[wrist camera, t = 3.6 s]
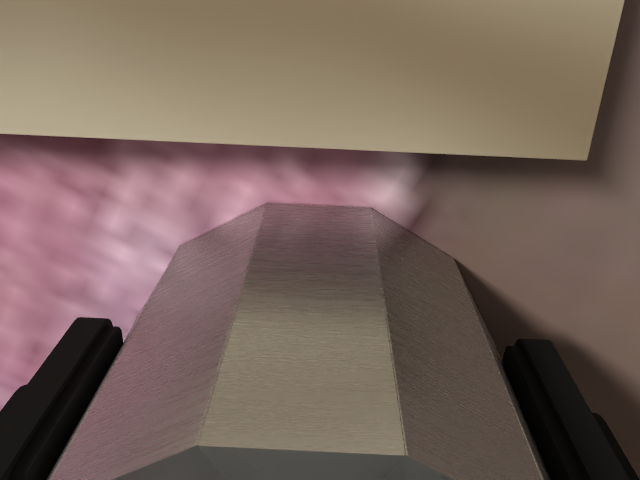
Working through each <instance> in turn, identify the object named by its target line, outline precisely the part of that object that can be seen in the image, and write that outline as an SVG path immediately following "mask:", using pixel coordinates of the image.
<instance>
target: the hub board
mask: <svg viewBox="0 0 640 480" xmlns="http://www.w3.org/2000/svg"><path fill="white" fill-rule="evenodd" d="M624 1H625V0H0V134H20V135H41V136H63V137H85V138H107V139H129V140H151V141H172V142H194V143H216V144H238V145H260V146H282V147H303V148H325V149H347V150H369V151H391V152H413V153H434V154H456V155H478V156H500V157H522V158H544V159H565V160H587V158H588V153H589V149H590V145H591V141H592V136H593V132H594V128H595V124H596V119H597V115H598V111H599V107H600V102H601V98H602V94H603V90H604V85H605V81H606V77H607V73H608V68H609V64H610V60H611V56H612V52H613V47H614V43H615V39H616V35H617V30H618V26H619V22H620V18H621V13H622V9H623V5H624Z"/></svg>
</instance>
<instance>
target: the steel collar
mask: <svg viewBox="0 0 640 480" xmlns="http://www.w3.org/2000/svg"><path fill="white" fill-rule="evenodd" d="M47 480H551V479H550V476H549V474H548V471H547V469H546V467H545V464H544V462H543V459H542V457H541V455H540V452H539V450H538V448H537V445H536V443H535V440H534V438H533V436H532V433H531V431H530V428H529V426H528V424H527V421H526V419H525V417H524V414H523V412H522V409H521V407H520V405H519V402H518V400H517V397H516V395H515V393H514V390H513V388H512V386H511V383H510V381H509V378H508V376H507V374H506V371H505V369H504V366H503V364H502V361H501V358H500V356H499V353H498V351H497V349H496V346H495V344H494V342H493V339H492V337H491V334H490V333H489V331H488V329H487V327H486V325H485V323H484V320H483V318H482V316H481V314H480V312H479V310H478V308H477V306H476V304H475V302H474V300H473V298H472V296H471V293H470V291H469V289H468V287H467V285H466V283H465V281H464V279H463V277H462V275H461V273H460V271H459V269H458V266H457V264H456V262H455V260H454V258H452V257H451V256H449V255H447V254H446V253H444V252H442V251H441V250H439V249H437V248H436V247H434V246H432V245H431V244H429V243H428V242H426V241H424V240H423V239H421V238H419V237H418V236H416V235H414V234H413V233H411V232H410V231H408V230H406V229H405V228H403V227H401V226H400V225H398V224H396V223H395V222H393V221H391V220H390V219H388V218H387V217H385V216H383V215H382V214H380V213H378V212H377V211H375V210H373V209H372V208H365V207H344V206H322V205H300V204H278V203H266V204H264V205H262V206H260V207H258V208H256V209H254V210H252V211H250V212H248V213H245V214H243V215H241V216H239V217H237V218H235V219H233V220H231V221H229V222H227V223H225V224H223V225H221V226H219V227H217V228H215V229H213V230H211V231H209V232H207V233H205V234H203V235H201V236H199V237H197V238H195V239H193V240H191V241H189V242H187V243H185V244H183V245H180V246H179V248H178V250H177V252H176V253H175V255H174V257H173V259H172V260H171V262H170V264H169V265H168V267H167V269H166V271H165V272H164V274H163V276H162V277H161V279H160V281H159V282H158V284H157V286H156V287H155V289H154V291H153V293H152V294H151V296H150V298H149V299H148V301H147V303H146V304H145V306H144V308H143V309H142V311H141V313H140V315H139V316H138V317H137V319H136V321H135V323H134V324H133V326H132V328H131V330H130V332H129V333H128V335H127V337H126V339H125V340H124V342H123V345H122V347H121V348H120V350H119V352H118V354H117V355H116V357H115V359H114V361H113V363H112V364H111V366H110V368H109V370H108V371H107V373H106V375H105V377H104V378H103V380H102V382H101V384H100V386H99V387H98V389H97V391H96V393H95V394H94V396H93V398H92V400H91V402H90V403H89V405H88V407H87V409H86V410H85V412H84V414H83V416H82V418H81V419H80V421H79V423H78V425H77V426H76V428H75V430H74V432H73V434H72V435H71V437H70V439H69V441H68V442H67V444H66V446H65V448H64V449H63V451H62V453H61V455H60V457H59V458H58V460H57V462H56V464H55V465H54V467H53V469H52V471H51V473H50V474H49V476H48V478H47Z"/></svg>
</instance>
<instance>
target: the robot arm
mask: <svg viewBox="0 0 640 480" xmlns="http://www.w3.org/2000/svg"><path fill="white" fill-rule="evenodd" d="M122 345H123V338H122V331H121V329H120V328H119V327H113V325H112V322H111V320H109V319H105V318H84V317H80V318H77V319H76V320H75V321H74V322H73V324H72V325H71V326H70V328H69V329H68V330H67V332H66V333H65V334H64V336H63V337H62V338H61V340H60V341H59V342H58V344H57V345H56V347H55V348H54V349H53V351H52V352H51V353H50V355H49V356H48V357H47V359H46V360H45V361H44V363H43V364H42V365H41V367H40V368H39V370H38V371H37V372H36V374H35V375H34V376H33V378H32V379H31V380H30V382H29V383H28V384H27V385H24V386H21V387H20V388H19V389H18V390H17V391H16V392H15V393H14V394H13V395H12V397H11V398H10V399H9V401H8V402H7V403H6V405H5V406H4V407H3V409H2V410H1V411H0V480H47V478H48V476H49V474H50V473H51V471H52V469H53V467H54V465H55V464H56V462H57V460H58V458H59V457H60V455H61V453H62V451H63V449H64V448H65V446H66V444H67V442H68V441H69V439H70V437H71V435H72V434H73V432H74V430H75V428H76V426H77V425H78V423H79V421H80V419H81V418H82V416H83V414H84V412H85V410H86V409H87V407H88V405H89V403H90V402H91V400H92V398H93V396H94V394H95V393H96V391H97V389H98V387H99V386H100V384H101V382H102V380H103V378H104V377H105V375H106V373H107V371H108V370H109V368H110V366H111V364H112V363H113V361H114V359H115V357H116V355H117V354H118V352H119V350H120V348H121V347H122ZM502 364H503V366H504V369H505V371H506V374H507V376H508V378H509V381H510V383H511V386H512V388H513V390H514V393H515V395H516V397H517V400H518V402H519V405H520V407H521V409H522V412H523V414H524V417H525V419H526V421H527V424H528V426H529V428H530V431H531V433H532V436H533V438H534V440H535V443H536V445H537V448H538V450H539V452H540V455H541V457H542V459H543V462H544V464H545V467H546V469H547V471H548V474H549V476H550V479H551V480H639V478H638V476H637V475H636V473H635V471H634V470H633V468H632V466H631V464H630V463H629V461H628V459H627V458H626V456H625V454H624V453H623V451H622V449H621V447H620V446H619V444H618V442H617V441H616V439H615V437H614V435H613V434H612V432H611V430H610V429H609V427H608V425H607V424H606V422H605V421H604V419H603V418H602V417H601V416H600V415H598V414H596V413H592V412H591V411H590V409H589V407H588V405H587V403H586V402H585V400H584V398H583V396H582V395H581V393H580V391H579V389H578V388H577V386H576V384H575V382H574V381H573V379H572V377H571V375H570V373H569V372H568V370H567V368H566V366H565V365H564V363H563V361H562V359H561V358H560V356H559V354H558V352H557V351H556V349H555V347H554V345H553V344H552V342H551V341H549V340H535V339H518V340H517V341H516V343H515V346H507V347H506V349H505V352H504V357H503V362H502Z"/></svg>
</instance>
